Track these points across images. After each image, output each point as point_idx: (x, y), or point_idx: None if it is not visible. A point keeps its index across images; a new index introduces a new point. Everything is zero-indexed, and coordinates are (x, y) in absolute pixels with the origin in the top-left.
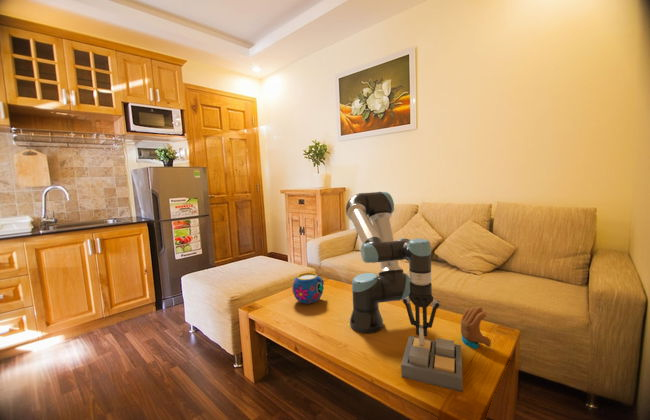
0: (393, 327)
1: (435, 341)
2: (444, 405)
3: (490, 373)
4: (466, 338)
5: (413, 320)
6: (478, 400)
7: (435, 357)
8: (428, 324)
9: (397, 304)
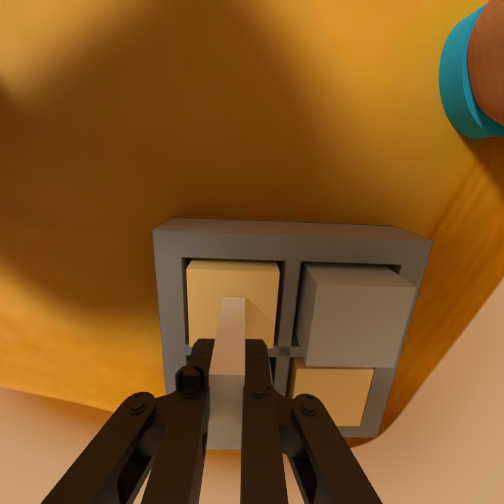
0: (24, 24)
1: (302, 246)
2: None
3: (470, 294)
4: (482, 103)
5: (142, 441)
6: (389, 407)
7: (296, 382)
8: (289, 452)
9: None
